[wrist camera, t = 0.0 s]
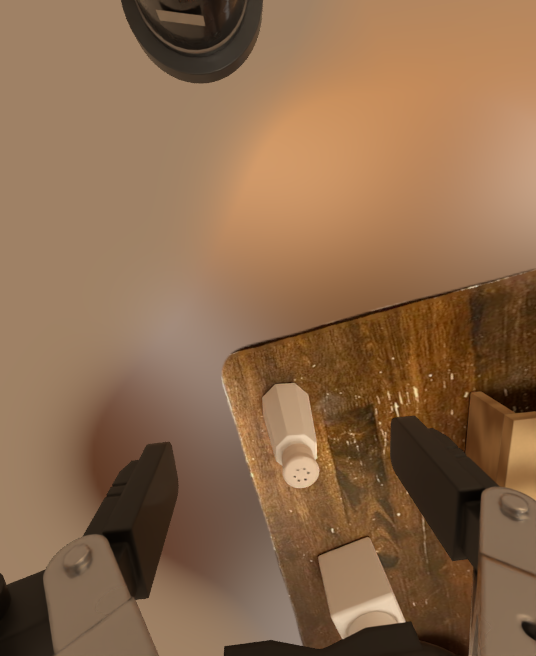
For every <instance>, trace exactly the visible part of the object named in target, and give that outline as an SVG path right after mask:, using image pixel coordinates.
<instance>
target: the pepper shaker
mask: <svg viewBox="0 0 536 656" xmlns="http://www.w3.org/2000/svg"><path fill="white" fill-rule="evenodd" d="M262 405H263V417H264V420H265V424H266V427H267V431H268V434H269V438H270V441H271V445H272V448H273V452H274V455H275V458H276V461H277V462H278V463H279V464H281V465H282V467H283V477H284V480H285V481H286V483H288V484H289V485H290V486H293V487H295V488H305V487H308V486H310V485H312V484H313V483H314V482H315V481H316V479H317V478H318V475H319V467H318V464H317V462H316V459H317V443H316V435H315V430H314V424H313V419H312V413H311V407H310V402H309V396H308V394H307V393H306V392H305V391H303V390H302V389H301V388H300V387H299V386H298V385H296V384H295V383H285V384H275V385H274V386H273V387H272V388H271V389H270V390H269V391H268V392H267V393H266V394H265V395H264V396H263V397H262Z"/></svg>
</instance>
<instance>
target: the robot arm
mask: <svg viewBox="0 0 536 656" xmlns="http://www.w3.org/2000/svg"><path fill="white" fill-rule="evenodd" d="M135 2H136V4H137V7H138V9H139V11H140V14H141V16H142V18H143V20H144V22H145V24H146V25H147V27H148V28H149V30H150V31H151V33H152V34H153V35H154V36H155V37H156V38H157V39H158V40H159V41H160V42H161V43H162V44H163V45H164V46H166V47H167V48H169V49H170V50H172V51H174V52H176V53H178V54H181V55H184V56H189V57H204V56H209V55H212V54H214V53H216V52H218V51H220V50H222V49H223V48H225V47H226V46H227V45H228V44H229V43H230V42H231V41H232V40H233V39H234V37H235V36H236V35H237V33H238V31H239V30H240V28H241V26H242V23H243V21H244V17H245V14H246V9H247V2H248V0H135ZM390 456H391V462H392V466H393V469H394V471H395V473H396V475H397V476H398V478H399V479H400V481H401V482H402V484H403V486H404V487H405V489H406V490H407V492H408V493H409V495H410V496H411V498H412V499H413V501H414V503H415V504H416V506H417V507H418V509H419V510H420V512H421V513H422V515H423V516H424V518H425V519H426V521H427V523H428V524H429V526H430V527H431V529H432V530H433V532H434V533H435V535H436V536H437V538H438V540H439V541H440V543H441V544H442V546H443V547H444V549H445V550H446V552H447V553H448V555H449V557H450V558H451V560H452V561H457V560H464V559H468V560H469V561H470V563H471V564H472V566H473V574H472V596H471V620H470V643H469V656H536V500H534V499H533V498H531V497H530V496H528V495H526V494H524V493H522V492H520V491H517V490H514V489H511V488H506V487H500V486H499V485H498V484H497V483H496V482H495V481H494V480H492V479H491V478H490V477H489V476H488V475H487V474H486V473H485V472H484V471H483V470H482V469H481V468H480V467H479V466H478V465H477V464H476V463H475V462H474V461H473V460H472V459H471V458H469V457H467V456H466V454H465V453H464V452H463V451H462V450H461V449H460V448H458V446H457V445H456V444H455V443H454V442H453V441H452V440H451V439H450V438H449V437H447V436H446V435H444V434H442V433H440V432H439V431H437V430H435V429H433V428H430V429H428V428H427V427H426V426H425V425H424V424H423V423H422V422H421V421H420V420H419V419H418V418H417V417H415V416H406V417H397V418H393V419H392V421H391V446H390ZM112 485H113V486H112V487H111V488H110V490H109V491H108V493H107V497H106V498H105V499H104V500H103V502H102V504H101V505H100V507H99V509H98V511H97V513H96V514H95V516H94V518H93V519H92V521H91V523H90V525H89V526H88V528H87V530H86V532H85V533H84V535H83V537H81V538H78V539H76V540H74V541H72V542H71V543H69V544H67V545H66V546H65V547H63V548H62V549H61V550H60V551H59V552H58V553H57V554H56V555H55V556H54V557H53V558H52V559H51V561H50V562H49V564H48V566H47V567H46V569H45V570H43V571H41V572H39V573H36V574H33V575H31V576H28V577H26V578H23V579H20V580H18V581H15V582H13V583H10V584H8V585H6V582H5V580H4V578H3V575H2V574H1V573H0V656H159V655H158V653H157V650H156V648H155V646H154V643H153V641H152V638H151V636H150V633H149V631H148V629H147V626H146V624H145V622H144V619H143V617H142V615H141V612H140V610H139V607H138V605H137V603H136V600H137V599H146V598H149V595H150V591H151V587H152V584H153V580H154V577H155V573H156V570H157V566H158V563H159V559H160V556H161V552H162V549H163V545H164V542H165V538H166V535H167V531H168V528H169V524H170V521H171V517H172V514H173V510H174V507H175V503H176V500H177V496H178V477H177V471H176V466H175V460H174V455H173V450H172V445H171V443H170V442H163V443H154V444H148V445H147V446H146V447H145V449H144V451H143V453H142V455H141V457H140V459H139V460H135V461H131V462H130V463H129V464H128V465H127V466H126V467H125V468H123V470H121V471H120V472H119V474H118V476H117V478H116V479H115V481H114V483H113V484H112ZM224 656H458V655H456V654H454V653H452V652H451V651H448V650H446V649H444V648H442V647H440V646H437V645H434V644H431V643H428V642H424V641H419V639H418V636H417V634H416V632H415V629H414V627H413V625H412V622H403V623H396V624H388V625H381V626H373V627H366V628H364V629H362V630H360V631H358V632H356V633H354V634H352V635H350V636H348V637H346V638H344V639H342V640H340V641H338V642H336V643H334V644H332V645H330V646H328V647H326V648H323V649H315V648H310V647H304V646H299V645H294V644H288V643H283V642H278V641H273V640H269V641H261V642H253V643H246V644H239V645H231V646H225V647H224Z"/></svg>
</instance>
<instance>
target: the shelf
mask: <svg viewBox="0 0 536 656" xmlns="http://www.w3.org/2000/svg"><path fill="white" fill-rule="evenodd" d="M465 454H466V456H467V457H469V458H471V459H472V460H473V461H474V462H475V463H476V464H477V465H478V466H479V467H480V468H481V469H482V470H483V471H484V472H485V473H486V474H487V475H488V476H489V477H490V478H491V479H492V480H494V481H495V482H496V483H497V484H498V485H499V486H500V487H506V488H511V489H514V490H517V491H520V492H522V493H524V494H526V495H528V496H530V497H531V498H533V499H534V500H536V411H533V412H523V413H515V412H513V411H511V410H510V409H508V408H507V407H505V406H503V405H502V404H500V403H499V402H497V401H495V400H494V399H492V398H491V397H489V396H487V395H486V394H484V393H483V392H481V391H479V392H471V394H470V405H469V417H468V428H467V439H466V450H465Z"/></svg>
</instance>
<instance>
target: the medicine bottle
mask: <svg viewBox="0 0 536 656" xmlns="http://www.w3.org/2000/svg"><path fill="white" fill-rule="evenodd" d="M318 561H319V565H320V570H321V574H322V579H323V583H324V588H325V592H326V597H327V601H328V606H329V610H330V615H331V618H332V620H333V622H334V624H335V626H336V628H337V630H338V632H339V634H340V636H341V638H342V639H344V638H346V637H348V636H350V635H352V634H354V633H356V632H358V631H360V630H362V629H364V628H366V627H373V626H381V625H388V624H396V623H403V622H406V621H405V619H404V617H403V614H402V612H401V610H400V607H399V605H398V602H397V600H396V598H395V595H394V593H393V590H392V588H391V586H390V583H389V581H388V578H387V576H386V574H385V571H384V569H383V567H382V564H381V562H380V560H379V557H378V555H377V553H376V551H375V548H374V546H373V544H372V541H371V539H370V538H369V537H366V538H363V539H360V540H358V541H355V542H353V543H350V544H348V545H345V546H342V547H340V548H337V549H335V550H332V551H330V552H327V553H324V554H322V555H319V557H318Z"/></svg>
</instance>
